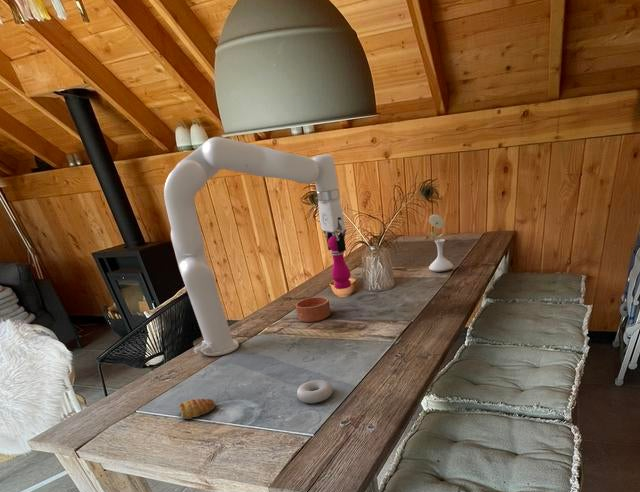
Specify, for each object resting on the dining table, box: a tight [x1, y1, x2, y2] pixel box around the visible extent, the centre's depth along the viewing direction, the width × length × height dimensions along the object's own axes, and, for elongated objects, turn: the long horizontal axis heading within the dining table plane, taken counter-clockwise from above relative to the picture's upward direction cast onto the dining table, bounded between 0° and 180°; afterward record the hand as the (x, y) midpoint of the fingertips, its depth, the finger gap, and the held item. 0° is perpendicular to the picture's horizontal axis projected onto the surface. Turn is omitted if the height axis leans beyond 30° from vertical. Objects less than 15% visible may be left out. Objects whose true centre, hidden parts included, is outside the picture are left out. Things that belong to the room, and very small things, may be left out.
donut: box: [296, 379, 333, 404], centre depth 129 cm, size 10×4×10 cm
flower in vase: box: [428, 214, 454, 273], centre depth 218 cm, size 13×11×25 cm
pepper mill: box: [327, 232, 352, 290], centre depth 172 cm, size 7×7×20 cm
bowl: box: [294, 296, 332, 323], centre depth 186 cm, size 13×13×6 cm
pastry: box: [178, 398, 216, 420], centre depth 129 cm, size 9×7×4 cm
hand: (337, 249), depth 170 cm, fingers closed on pepper mill, 6 cm apart
